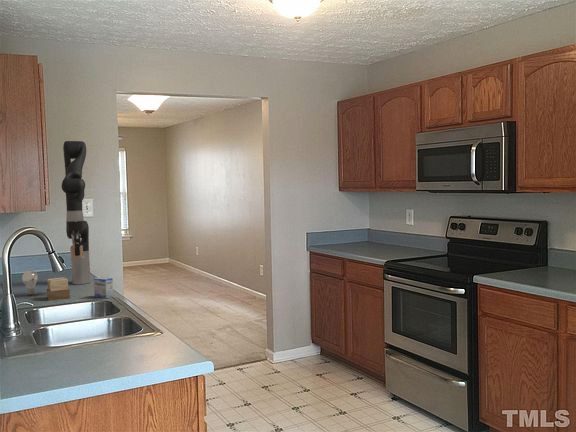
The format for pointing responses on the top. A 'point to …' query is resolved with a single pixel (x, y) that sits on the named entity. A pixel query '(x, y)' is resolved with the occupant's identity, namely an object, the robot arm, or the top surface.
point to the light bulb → (30, 281)
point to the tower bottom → (58, 294)
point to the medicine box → (103, 287)
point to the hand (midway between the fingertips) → (77, 254)
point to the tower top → (57, 284)
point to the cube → (74, 251)
